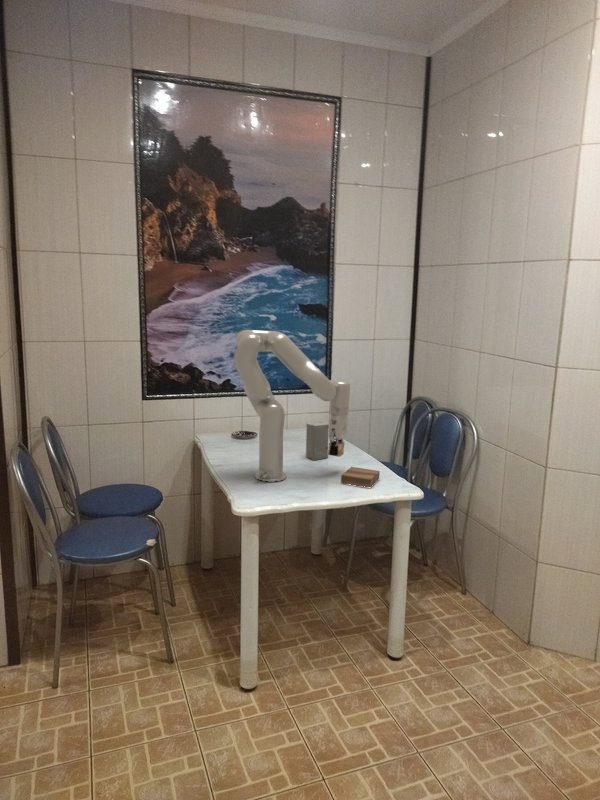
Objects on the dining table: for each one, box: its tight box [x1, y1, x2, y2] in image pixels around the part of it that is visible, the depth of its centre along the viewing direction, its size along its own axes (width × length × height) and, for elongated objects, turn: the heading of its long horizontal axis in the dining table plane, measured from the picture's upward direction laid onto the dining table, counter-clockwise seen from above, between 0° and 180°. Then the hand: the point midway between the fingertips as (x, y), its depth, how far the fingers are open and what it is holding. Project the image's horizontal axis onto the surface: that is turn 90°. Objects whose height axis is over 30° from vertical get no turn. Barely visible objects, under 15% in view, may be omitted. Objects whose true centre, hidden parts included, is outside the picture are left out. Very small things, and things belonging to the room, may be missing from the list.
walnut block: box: [340, 466, 380, 488], centre depth 236 cm, size 12×12×4 cm
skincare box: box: [305, 421, 330, 461], centre depth 265 cm, size 8×7×16 cm
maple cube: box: [328, 440, 345, 458], centre depth 244 cm, size 5×5×5 cm
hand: (336, 453), depth 244 cm, fingers closed on maple cube, 5 cm apart
